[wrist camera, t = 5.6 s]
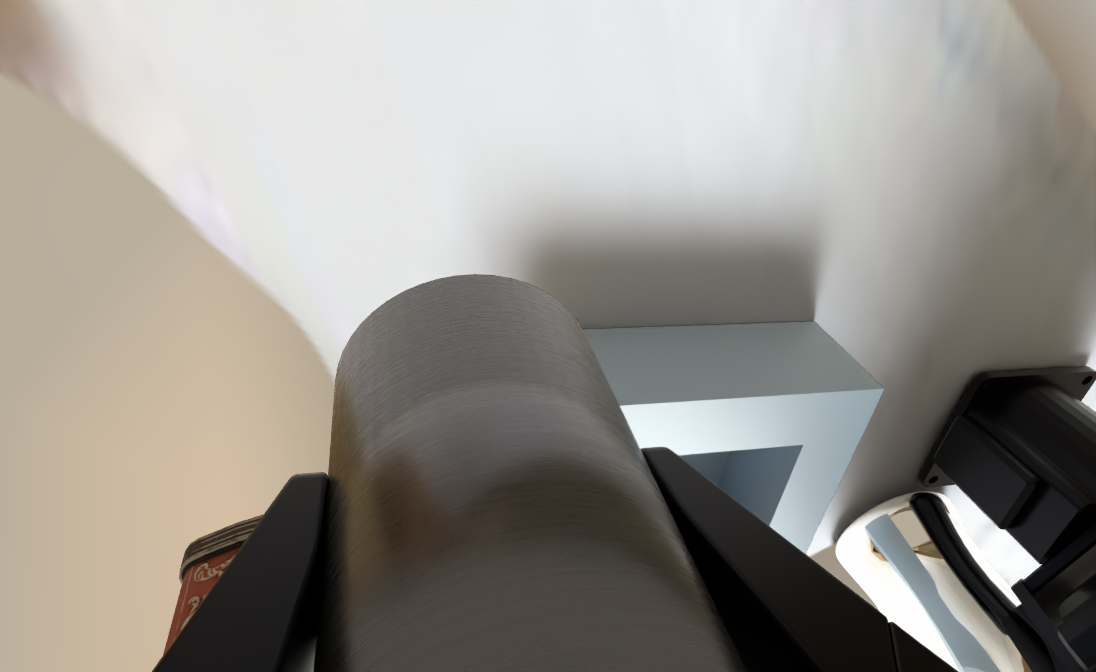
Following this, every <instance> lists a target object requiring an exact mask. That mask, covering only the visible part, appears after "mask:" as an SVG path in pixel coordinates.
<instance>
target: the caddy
mask: <svg viewBox="0 0 1096 672" xmlns="http://www.w3.org/2000/svg"><path fill="white" fill-rule="evenodd" d="M583 331H584V333H585V335H586V337H587V339H588V341H589V343H590V345H591V347H592V349H593V351H594V353H595V355H596V358H597V360H598V362H599V364H600V366H601V368H602V370H603V372H604V374H605V376H606V378H607V380H608V383H609V385H610V387H611V389H612V391H613V393H614V395H615V397H616V399H617V401H618V403H619V405H620V408H621V410H622V412H623V414H624V416H625V418H626V420H627V422H628V424H629V426H630V428H631V431H632V433H633V435H634V437H635V439H636V441H637V443H638V445H639V447H640V449H641V448H650V447H667V448H669V449H670V450H672V451H673V452H674V453H676V454H677V455H678V456H680V457H681V458H682V459H684V460H685V461H686V462H687V463H689V464H690V465H691V466H693V467H694V468H695V469H696V470H698V471H699V472H700V473H702V474H703V475H704V476H705V477H707V478H708V479H709V480H711V481H712V482H713V483H714V484H716V485H717V486H718V487H720V488H721V489H722V490H723V491H725V492H726V493H727V494H729V495H730V496H731V497H733V498H734V499H735V500H736V501H738V502H739V503H740V504H742V505H743V506H744V507H745V508H747V509H748V510H749V511H751V512H752V513H753V514H754V515H756V516H757V517H758V518H760V519H761V520H762V521H763V522H765V523H766V524H767V525H769V526H770V527H771V528H772V529H774V530H775V531H776V532H778V533H779V534H780V535H782V536H783V537H784V538H785V539H787V540H788V541H789V542H791V543H792V544H793V545H794V546H796V547H797V548H798V549H800V550H801V551H802V552H803V553H805V554H806V552H807V550H808V548H809V546H810V544H811V541H812V539H813V537H814V535H815V533H816V531H817V529H818V527H819V525H820V523H821V521H822V518H823V516H824V514H825V512H826V510H827V508H828V506H829V504H830V502H831V500H832V498H833V495H834V493H835V491H836V489H837V487H838V485H839V483H840V481H841V479H842V477H843V475H844V472H845V470H846V468H847V466H848V464H849V462H850V460H851V458H852V456H853V454H854V452H855V449H856V447H857V445H858V443H859V441H860V439H861V437H862V435H863V433H864V431H865V429H866V426H867V424H868V422H869V420H870V418H871V416H872V414H873V412H874V410H875V408H876V406H877V403H878V401H879V399H880V397H881V395H882V393H883V391H884V388H883V387H882V386H881V385H880V384H879V383H878V382H877V381H876V380H875V379H874V378H873V377H872V376H871V375H870V374H869V373H868V372H867V371H866V370H865V369H864V368H863V367H862V366H861V365H860V364H859V363H858V362H857V361H855V360H854V359H853V358H852V357H851V356H850V355H849V354H848V353H847V352H846V351H845V350H844V349H843V348H842V347H841V346H840V345H839V344H838V343H837V342H836V341H835V340H834V339H833V338H832V337H831V336H830V335H829V334H828V333H827V332H825V331H824V330H823V329H822V328H821V327H820V326H819V325H818V324H817V323H816V322H815V321H809V322H780V323H750V324H721V325H692V326H663V327H634V328H604V329H583Z"/></svg>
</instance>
